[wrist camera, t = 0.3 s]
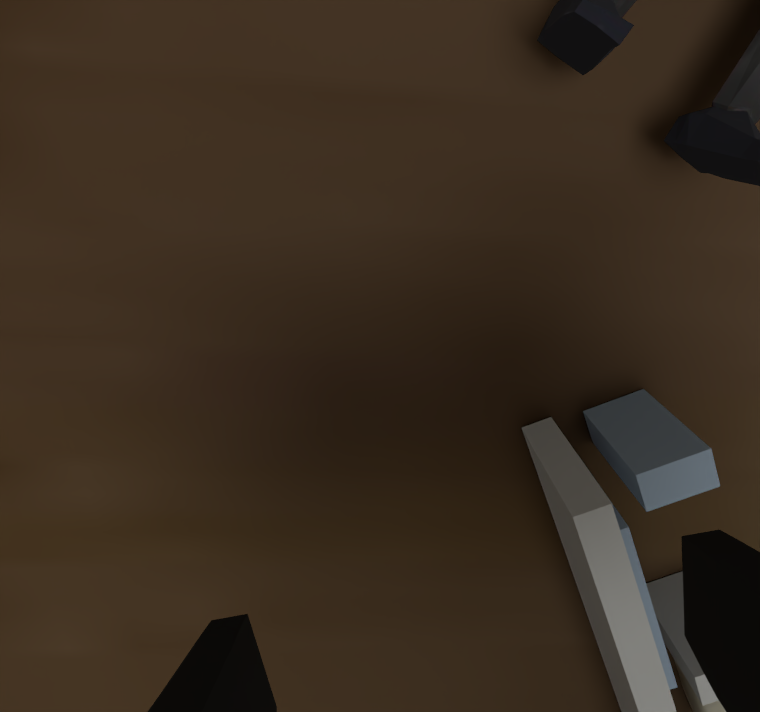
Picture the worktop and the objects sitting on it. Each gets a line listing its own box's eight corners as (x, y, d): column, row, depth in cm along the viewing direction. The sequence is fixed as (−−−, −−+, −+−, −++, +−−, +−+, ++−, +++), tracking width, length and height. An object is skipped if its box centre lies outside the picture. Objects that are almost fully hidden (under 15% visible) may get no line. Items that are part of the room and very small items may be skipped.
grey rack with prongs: (737, 736, 25) (826, 875, 21) (640, 766, 26) (706, 910, 21) (641, 383, 20) (731, 461, 15) (521, 427, 20) (572, 517, 16)
